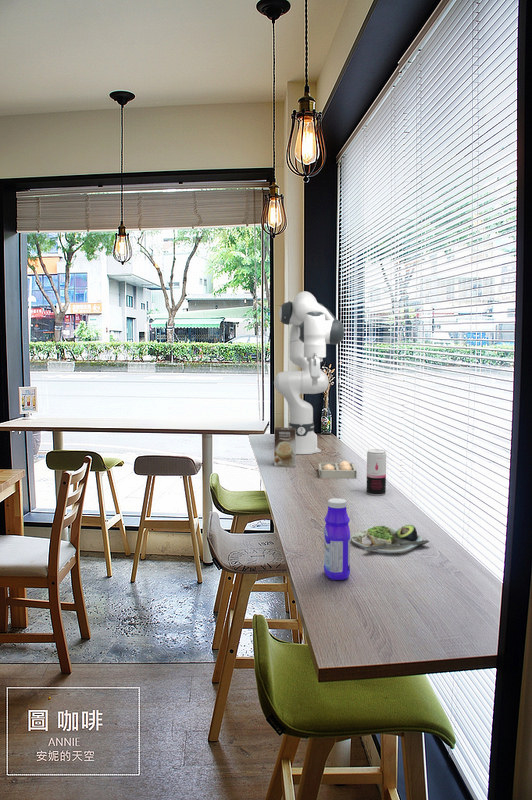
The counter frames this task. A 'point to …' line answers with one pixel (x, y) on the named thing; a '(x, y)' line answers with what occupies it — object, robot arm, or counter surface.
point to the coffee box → (285, 447)
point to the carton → (337, 471)
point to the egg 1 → (328, 467)
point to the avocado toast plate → (389, 539)
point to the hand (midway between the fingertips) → (314, 387)
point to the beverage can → (376, 472)
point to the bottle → (337, 541)
